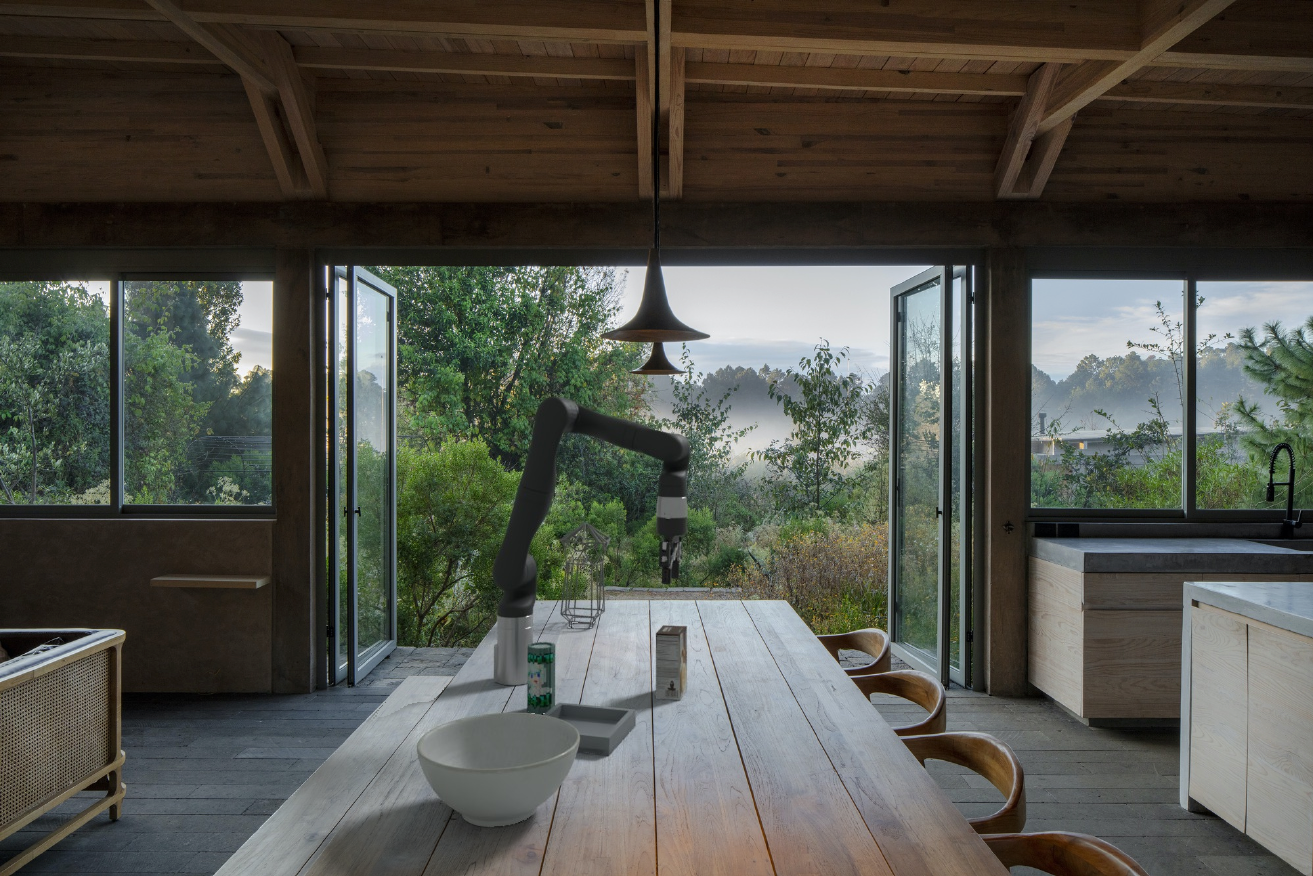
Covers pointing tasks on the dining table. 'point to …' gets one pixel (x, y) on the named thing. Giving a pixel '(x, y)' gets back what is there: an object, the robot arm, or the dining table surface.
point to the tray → (596, 725)
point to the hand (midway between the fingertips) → (670, 581)
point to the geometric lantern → (567, 540)
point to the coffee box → (671, 662)
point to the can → (540, 677)
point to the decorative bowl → (498, 764)
